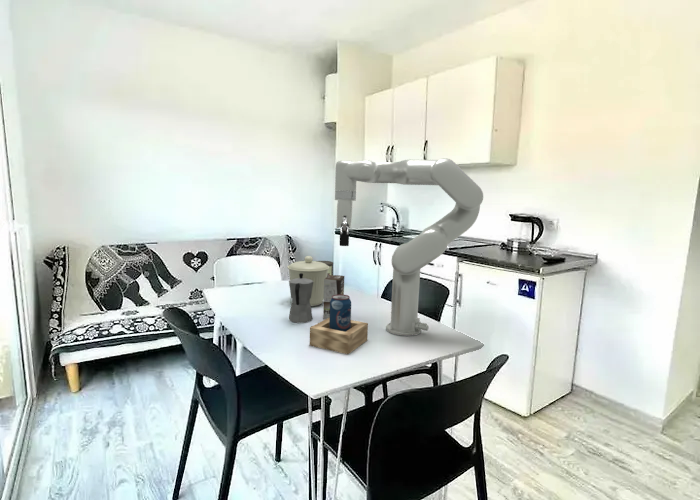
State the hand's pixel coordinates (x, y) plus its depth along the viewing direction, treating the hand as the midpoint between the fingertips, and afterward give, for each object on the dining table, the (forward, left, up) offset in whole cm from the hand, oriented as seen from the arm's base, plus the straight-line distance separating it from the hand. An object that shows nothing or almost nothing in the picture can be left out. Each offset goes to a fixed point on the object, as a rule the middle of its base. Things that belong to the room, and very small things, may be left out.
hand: (344, 244), depth 150 cm
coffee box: (+7, -6, -31) cm, 32 cm away
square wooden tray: (-8, +17, -30) cm, 35 cm away
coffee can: (+33, -41, -31) cm, 61 cm away
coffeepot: (+16, +4, -31) cm, 35 cm away
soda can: (-8, +16, -27) cm, 33 cm away
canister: (+26, -17, -31) cm, 44 cm away
